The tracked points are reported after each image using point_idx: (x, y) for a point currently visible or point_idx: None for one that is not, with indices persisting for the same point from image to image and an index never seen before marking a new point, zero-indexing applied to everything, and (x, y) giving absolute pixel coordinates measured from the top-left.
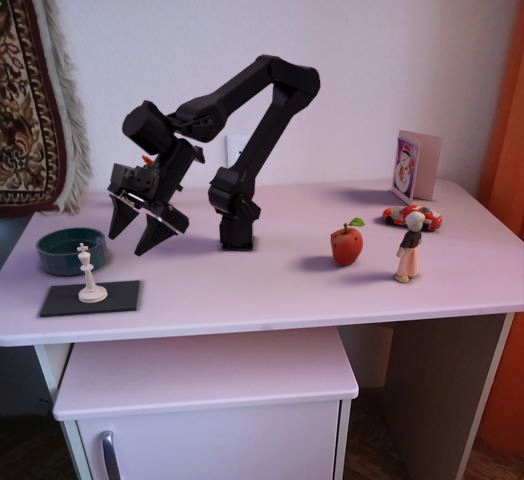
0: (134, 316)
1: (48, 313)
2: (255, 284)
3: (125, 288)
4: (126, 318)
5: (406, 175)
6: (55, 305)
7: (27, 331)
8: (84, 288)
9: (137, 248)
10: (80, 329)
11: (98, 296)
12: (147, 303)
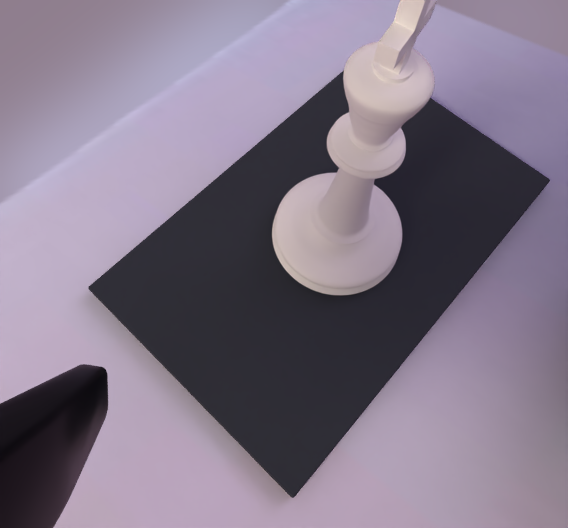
0: (64, 256)
1: None
2: None
3: (276, 376)
4: (84, 227)
5: None
6: None
7: (314, 5)
8: (391, 217)
9: (39, 388)
10: (181, 91)
11: (280, 217)
12: None
